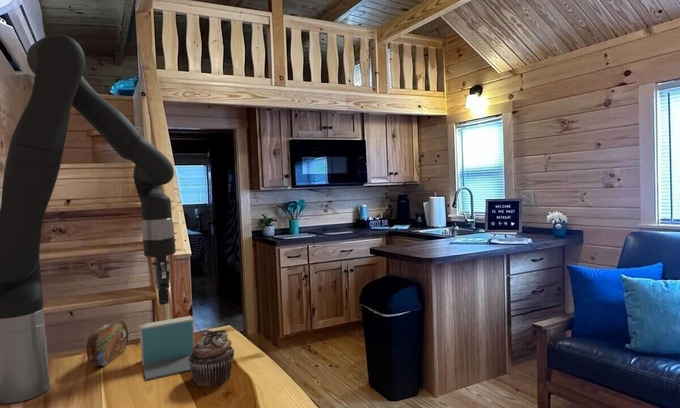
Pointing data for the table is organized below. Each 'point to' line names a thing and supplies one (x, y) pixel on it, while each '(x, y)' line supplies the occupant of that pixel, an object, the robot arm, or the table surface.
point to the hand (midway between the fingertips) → (164, 303)
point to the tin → (107, 343)
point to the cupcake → (211, 359)
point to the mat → (166, 368)
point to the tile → (166, 339)
